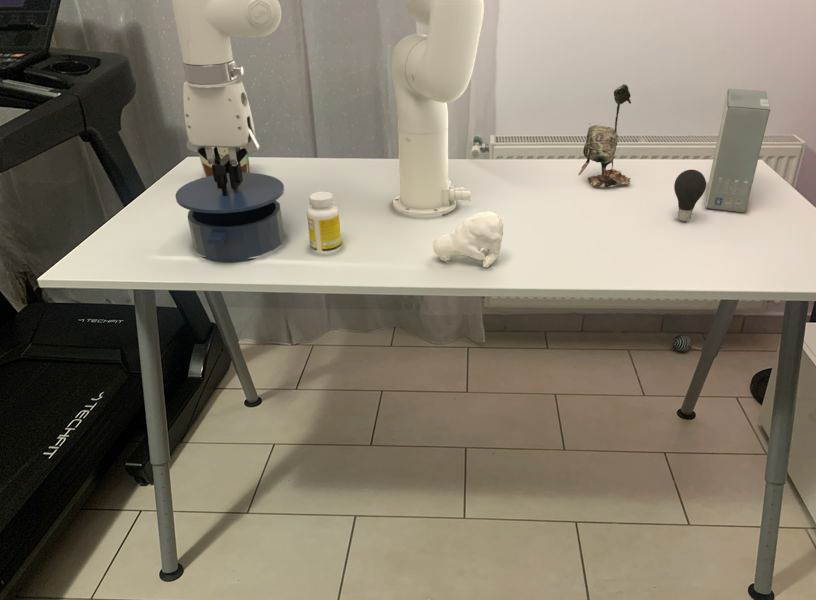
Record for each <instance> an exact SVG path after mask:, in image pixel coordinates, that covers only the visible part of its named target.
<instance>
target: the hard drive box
mask: <svg viewBox="0 0 816 600" xmlns="http://www.w3.org/2000/svg"><path fill="white" fill-rule="evenodd" d="M770 113H771V104H770V101H769V95H768V92H767V91H766V90H754V89H741V88H728V89H727V90H726V96H725V101H724V106H723V111H722V115H721V120H720V125H719V129H718V134H717V139H716V144H715V148H714V154H713V158H712V164H711V168H710V172H709V173H710V174H709V179H708V185H707V194H706V202H705V208H706V209H712V210H720V211H729V212H736V213H737V212H738V213H746V211H747V207H748V202H749V199H750V195H751V191H752V187H753V182H754V179H755V174H756V171H757V167H758V166H757V165H758V161H759V158H760V153H761V150H762V145H763V141H764V137H765V133H766V130H767V129H766V128H767V126H768V125H767V123H768V121H769V117H770Z"/></svg>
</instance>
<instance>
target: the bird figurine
mask: <svg viewBox="0 0 816 600" xmlns="http://www.w3.org/2000/svg"><path fill="white" fill-rule="evenodd" d="M613 96H614V98H613V99H614V101H615V103H616V105H617V106H616V113H615V115H616V116H615V119H614V121H615V122H614V127H610V126H604V125H601V124H595V125H591V123H588V125H591V126H589V127H588V130H587V134H586V141H585V144H584V146H583V150H582V154H583V157H585V158H586V161H585V163H583V165H582V166H581V169H580V170H579V172H578V174H577V175H578V176H580V175H581V174H582V173H583V172H584V170H586V168H587V166H588V165H589V164H590V161H592V162H595V163H600V167H601V173H600V174H597V175H591V176H588V177H587V181H588V183H589V184H590V186H593V187H595V188H610V187H611V188H614V187H616V186H618V185H625V184H626V185H630V184H631V179H632V178H630V177H627V176H626V175H624V174H622V171H621V170H617V169H615V168H613V167H614V159H615V154H616V151H617V146H618V142H619V138H618V137H619V135H618V132H617V130H618V128H617V126H618V119H619V113H620V107H621V105H622V104H624V103H626V102H628V104H632V102H631V99H630V98H631V92H630V90H629V86H628V85H627V84H626V83H623V84H622V85H620V86H618V87H616V88H615V89H614V90H613ZM610 164H611V168H610V169H607V167H608V165H610Z"/></svg>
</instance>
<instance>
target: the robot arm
mask: <svg viewBox="0 0 816 600" xmlns="http://www.w3.org/2000/svg"><path fill="white" fill-rule="evenodd" d="M171 6H172V11H173V16H174V22H175V27H176V33H177V38H178V42H179V48H180V54H181V58H182V64H183V70H184V75H185V80H186V81H184V82H183V85H182V100H183V115H184V125H185V130H186V136H187V141H186V149H187V150H189V151H191V152H193V153H196V154H198V155H199V154H200V155H201V156H202V157H204V158H205V159H206V160H207V161H208V164H209V165H211V166H212V171H213V176H214V181H215V182H217V187H218V189H222V188H221V182H220V176H219V175H216V172H215V166H214V165H215V164H216V163H217V162H218V161H219V160H221V158H220V152H219V147H228V152H229V158H230V166H229V167H228V171H229V178H230V184H231V188H232V189H237V188H238V186H239V185H240V184H241V182H242V181H243V176H242V170H241V164H240V162H241V160H242V159H243V158H244V157H245V156H246V155H250V154H254V153H256V152H257V151H259V149H260V144H259V142H258V141H257V138H256V129H255V123H254V119H253V114H252V110H251V105H250V101H249V97H248V94H247V91H246V89H245V85H244V83H243V81H242V79H237V78H238V77H239V76H243V75H244V72H245V71H244V67H243V65H238V64H236V61H235V59H234V56H233V49H232V42H231V37H239V38H240V37H241V38H252V39H253V38H255V39H257V38H264V37H267V36H269V35H271V34H272V33H274V32H275V31H277V29H278V27H279V25H280V24H281V20H282V7H281V4H280V2H279V0H171ZM406 9H407V11H408V14H409V16H410V17H411V19H412V20H413V21H415V22H416V23H418V24H419V25H422V26H423V27H426V28H428V29H427V34H422V33H413V34H408V35H406V36H404V37H403V38H401V39H400V40H399V41H398V42H397V43H396V45H395V46H394V48H393V51H392V53H391V58H390V76H391V82H392V86H393V91H394V99H395V106H396V120H397V121H396V123H397V125H396V127H397V149H398V150H397V151H398V172H399V173H398V174H399V176H398V177H399V194H397V195H396V196H395V197H394V198H393V199H392V207H393V209H394V210H395V211H397V212H399V213H401V214H404V215H409V216H417V217H427V216H428V217H429V216H437V215H442V216H444V215H447V214H449V213H451V212H453V210H455V209H456V206H457V201H461V202H463V201H465V202H471V200H472V199H471V198H472V191H471V190H466V187H454V185H452V180H451V179H449V111H448V103H451V102H454V101H456V100H458V99H459V98H460V97H461V96H462V95H463V94H464V93H465V92H466V90H467V88H468V86H469V85H470V81H471V78H472V75H473V71H474V68H475V67H474V66H475V61H476V57H477V53H478V52H477V51H478V47H479V41H480V36H481V31H482V26H483V21H484V12H485V4H484V0H406ZM246 145H247V146H246ZM244 146H245V147H244ZM241 147H242V148H241ZM225 180H226V184H227V183H228V180H227V174H226V175H225Z"/></svg>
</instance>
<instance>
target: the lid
mask: <svg viewBox="0 0 816 600" xmlns="http://www.w3.org/2000/svg"><path fill="white" fill-rule="evenodd" d="M214 166H215V172H216V175H219V176H220V182H221V188H222V189H218V187H217V182H215V181H214V176H208V177H205V176H204V177H200V178H197V179H195V180H191V181H189V182H187V183H185V184H184V185H182V186H181V187H179V189H177V191H176V193H175V201H176V203H177V204H178V205H179V206H180V207H181V208H183V209H185V210H188V211H190V210H192V211H196V212H202V213H233V212H241V211H247V210H252V209H256V208H259V207H262V206H265V205H268V204H270V203H272V202H274V201H277V200H280V198H281V197H282V196H283V195H284V193H285V186H284V185H285V184H284V183H283V182H282V181H281V180H280V179H279V178H277V177H275V176H271V175H268V174H264V173H257V172H249V173H242V176H243V181H242V182H241V184H240V185H239V186H238V188H237V189H232V188H231V184H230V178H229V173H228V172H229V171H228V167H229V166H230V158H229V154H226V155H225V156H224V157H223V158H222V159H221V160H219V161H218V162H217V163H216V164H215V165H214ZM226 174H227V180H228V183H227V184H226V180H225V175H226Z"/></svg>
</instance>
